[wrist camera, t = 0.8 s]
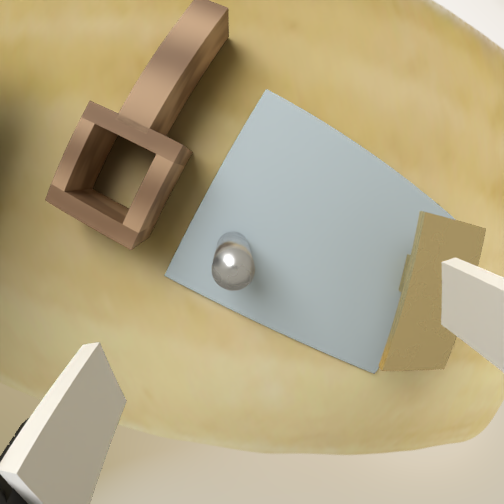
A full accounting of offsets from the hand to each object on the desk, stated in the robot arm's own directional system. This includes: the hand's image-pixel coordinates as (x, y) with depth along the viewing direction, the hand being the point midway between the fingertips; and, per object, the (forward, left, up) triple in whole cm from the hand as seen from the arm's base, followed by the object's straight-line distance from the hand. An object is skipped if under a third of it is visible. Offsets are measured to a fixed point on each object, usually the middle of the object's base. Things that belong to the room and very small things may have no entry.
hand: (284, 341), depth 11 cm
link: (-13, +6, -20) cm, 25 cm away
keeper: (+14, +4, -20) cm, 25 cm away
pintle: (-1, -1, -20) cm, 20 cm away
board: (+7, +3, -20) cm, 22 cm away
